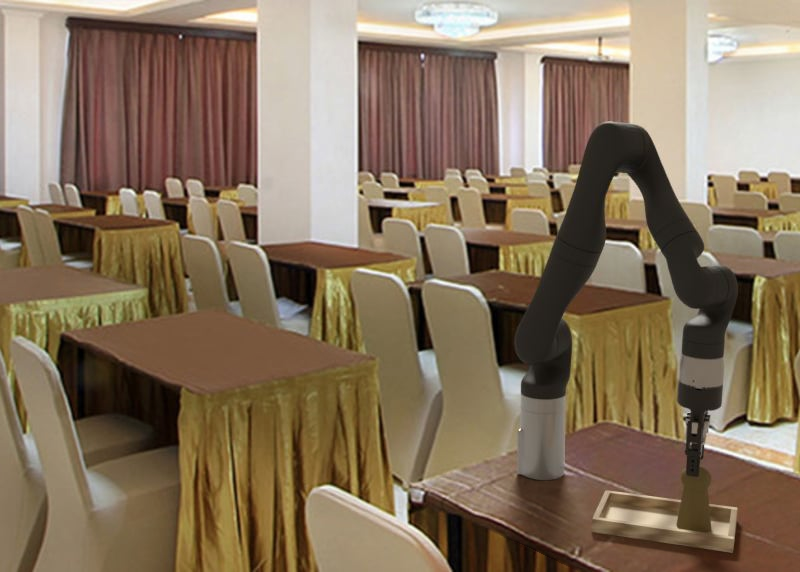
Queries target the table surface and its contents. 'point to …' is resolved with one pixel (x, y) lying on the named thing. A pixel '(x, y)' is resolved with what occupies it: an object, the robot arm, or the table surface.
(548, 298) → the robot arm
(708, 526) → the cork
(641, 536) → the birch tray
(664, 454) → the table surface
